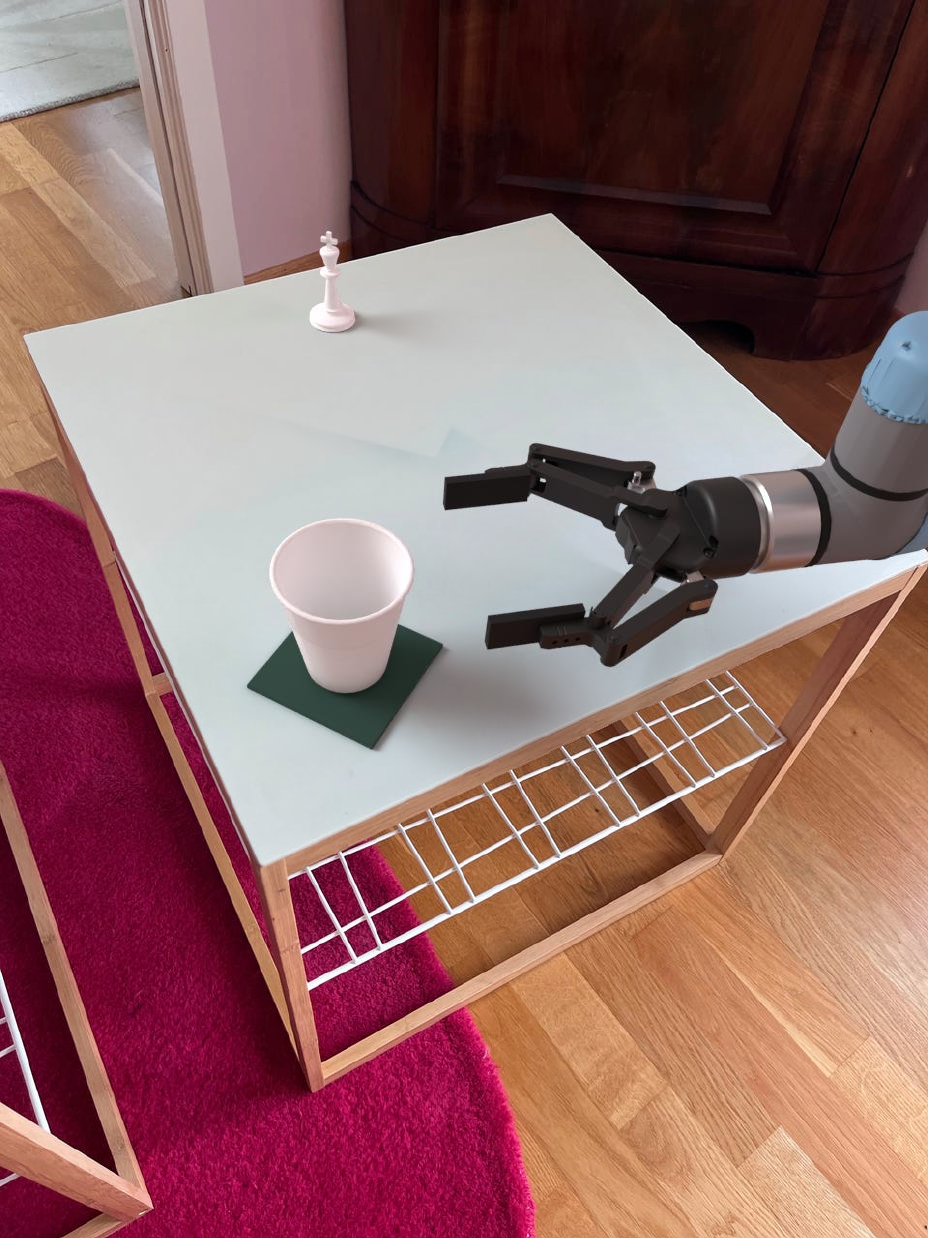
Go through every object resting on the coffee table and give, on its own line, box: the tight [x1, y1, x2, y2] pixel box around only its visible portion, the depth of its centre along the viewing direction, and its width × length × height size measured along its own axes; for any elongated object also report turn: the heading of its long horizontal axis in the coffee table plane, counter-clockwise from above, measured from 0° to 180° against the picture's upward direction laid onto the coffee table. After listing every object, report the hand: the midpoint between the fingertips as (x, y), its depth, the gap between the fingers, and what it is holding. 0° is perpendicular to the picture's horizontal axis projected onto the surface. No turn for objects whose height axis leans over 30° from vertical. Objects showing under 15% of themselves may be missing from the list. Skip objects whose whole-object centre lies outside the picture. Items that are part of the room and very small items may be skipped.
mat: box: [246, 623, 444, 750], centre depth 74 cm, size 11×11×1 cm
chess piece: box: [309, 230, 356, 333], centre depth 99 cm, size 5×5×10 cm
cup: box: [269, 517, 416, 693], centre depth 69 cm, size 10×10×11 cm
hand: (464, 559), depth 67 cm, fingers open, 13 cm apart
